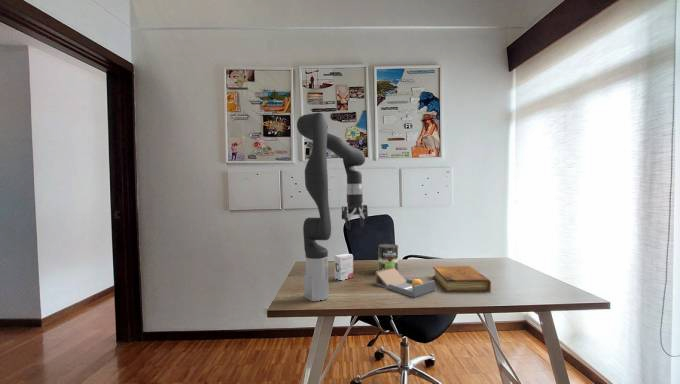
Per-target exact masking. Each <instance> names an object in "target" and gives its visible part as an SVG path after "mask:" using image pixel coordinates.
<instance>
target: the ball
mask: <svg viewBox="0 0 680 384" xmlns="http://www.w3.org/2000/svg"><path fill="white" fill-rule="evenodd" d="M412 280H413V281H412V288H413V286H416V285H419V284H422V283H424V282H423V281H422V279H419V278H415V279H412Z"/></svg>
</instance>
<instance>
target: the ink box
mask: <svg viewBox="0 0 680 384" xmlns="http://www.w3.org/2000/svg"><path fill="white" fill-rule="evenodd" d="M352 277H353V278H354V255H353V254H352V253H343V254H337V255H334V280H336V279H338V280H337V281H339V280H343V281H345V279H347V280H350V279H353V278H352ZM349 278H350V279H349Z"/></svg>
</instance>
